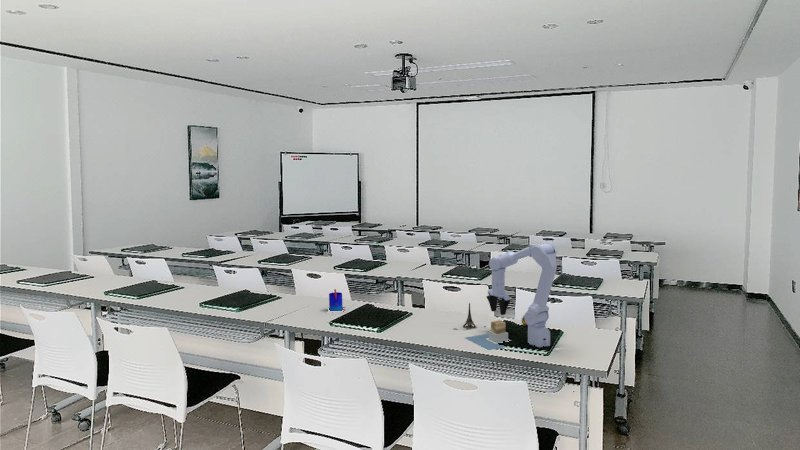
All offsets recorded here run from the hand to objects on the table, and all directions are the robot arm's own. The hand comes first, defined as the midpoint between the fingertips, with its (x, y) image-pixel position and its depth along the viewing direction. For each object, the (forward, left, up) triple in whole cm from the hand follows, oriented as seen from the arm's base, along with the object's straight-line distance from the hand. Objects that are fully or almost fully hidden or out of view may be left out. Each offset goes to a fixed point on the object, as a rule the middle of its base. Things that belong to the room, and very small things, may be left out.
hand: (498, 312), depth 259 cm
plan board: (-9, +10, -10) cm, 17 cm away
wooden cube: (-9, +6, -6) cm, 12 cm away
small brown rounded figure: (+7, -24, -11) cm, 27 cm away
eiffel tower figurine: (+17, +5, -11) cm, 21 cm away
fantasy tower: (+80, +52, -11) cm, 96 cm away
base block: (-9, +6, -9) cm, 14 cm away
